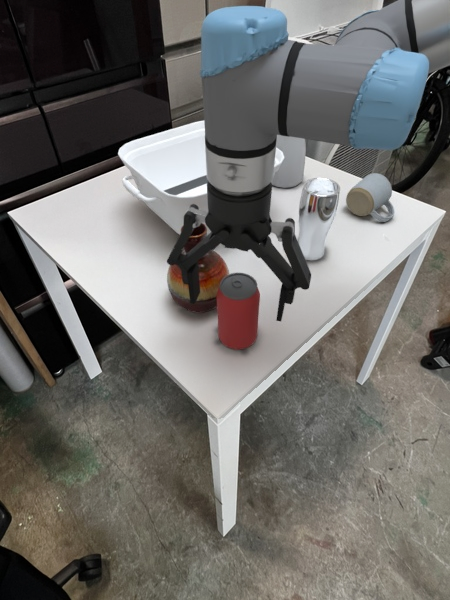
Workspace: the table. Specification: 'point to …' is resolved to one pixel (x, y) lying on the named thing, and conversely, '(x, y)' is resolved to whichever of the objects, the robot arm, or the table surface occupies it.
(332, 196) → the beer glass
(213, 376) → the table surface
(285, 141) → the soap bottle
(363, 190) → the ceramic mug
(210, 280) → the vase
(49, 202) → the table surface
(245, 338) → the beer can
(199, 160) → the white wash basin
